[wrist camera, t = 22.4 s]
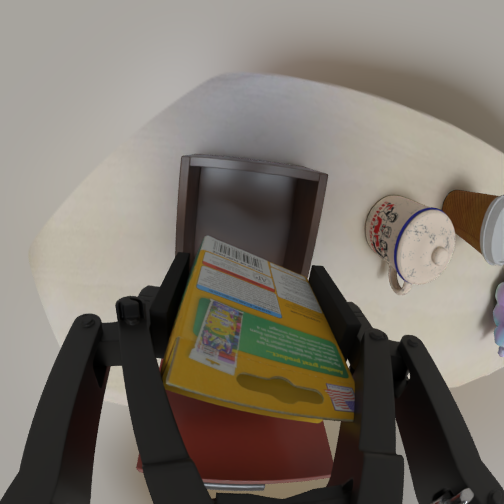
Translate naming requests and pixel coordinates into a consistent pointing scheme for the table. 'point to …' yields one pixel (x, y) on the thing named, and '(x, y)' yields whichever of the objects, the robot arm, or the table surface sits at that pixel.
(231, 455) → the lid
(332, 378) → the crayon box
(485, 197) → the disposable coffee cup
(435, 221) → the teacup with lid
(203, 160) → the chest
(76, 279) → the table surface
